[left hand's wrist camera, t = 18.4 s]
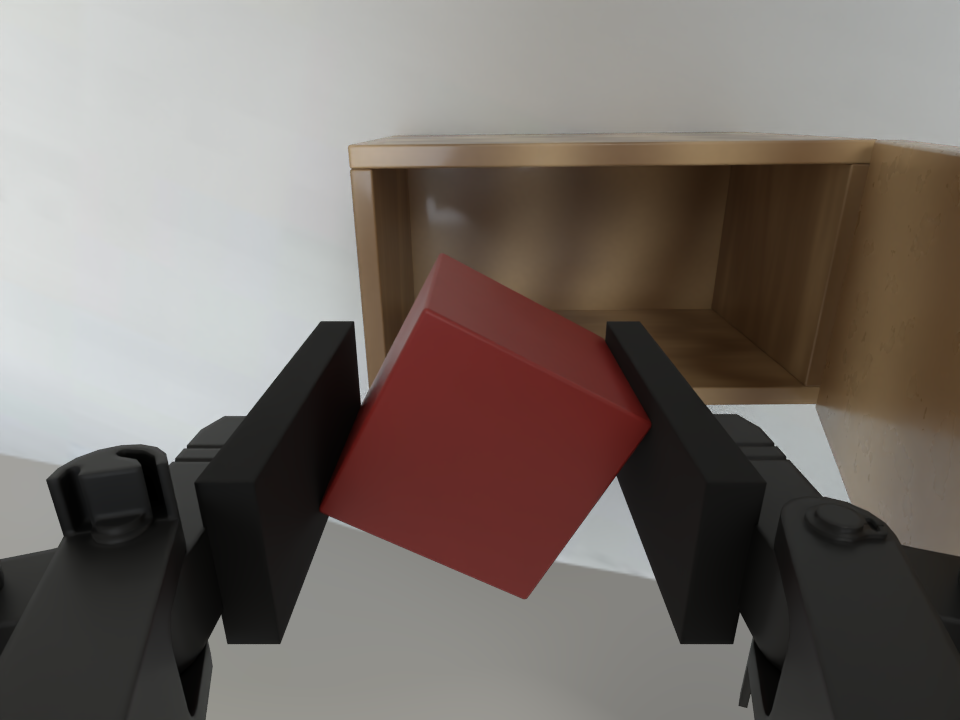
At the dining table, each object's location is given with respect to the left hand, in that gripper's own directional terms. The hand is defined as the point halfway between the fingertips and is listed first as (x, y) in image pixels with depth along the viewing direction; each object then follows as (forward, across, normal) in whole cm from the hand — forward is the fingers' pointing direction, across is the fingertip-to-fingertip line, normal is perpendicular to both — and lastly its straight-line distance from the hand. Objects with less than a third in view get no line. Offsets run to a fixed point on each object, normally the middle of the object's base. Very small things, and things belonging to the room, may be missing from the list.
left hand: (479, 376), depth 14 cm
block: (0, 0, 0) cm, 0 cm away
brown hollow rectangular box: (+19, +4, 0) cm, 19 cm away
